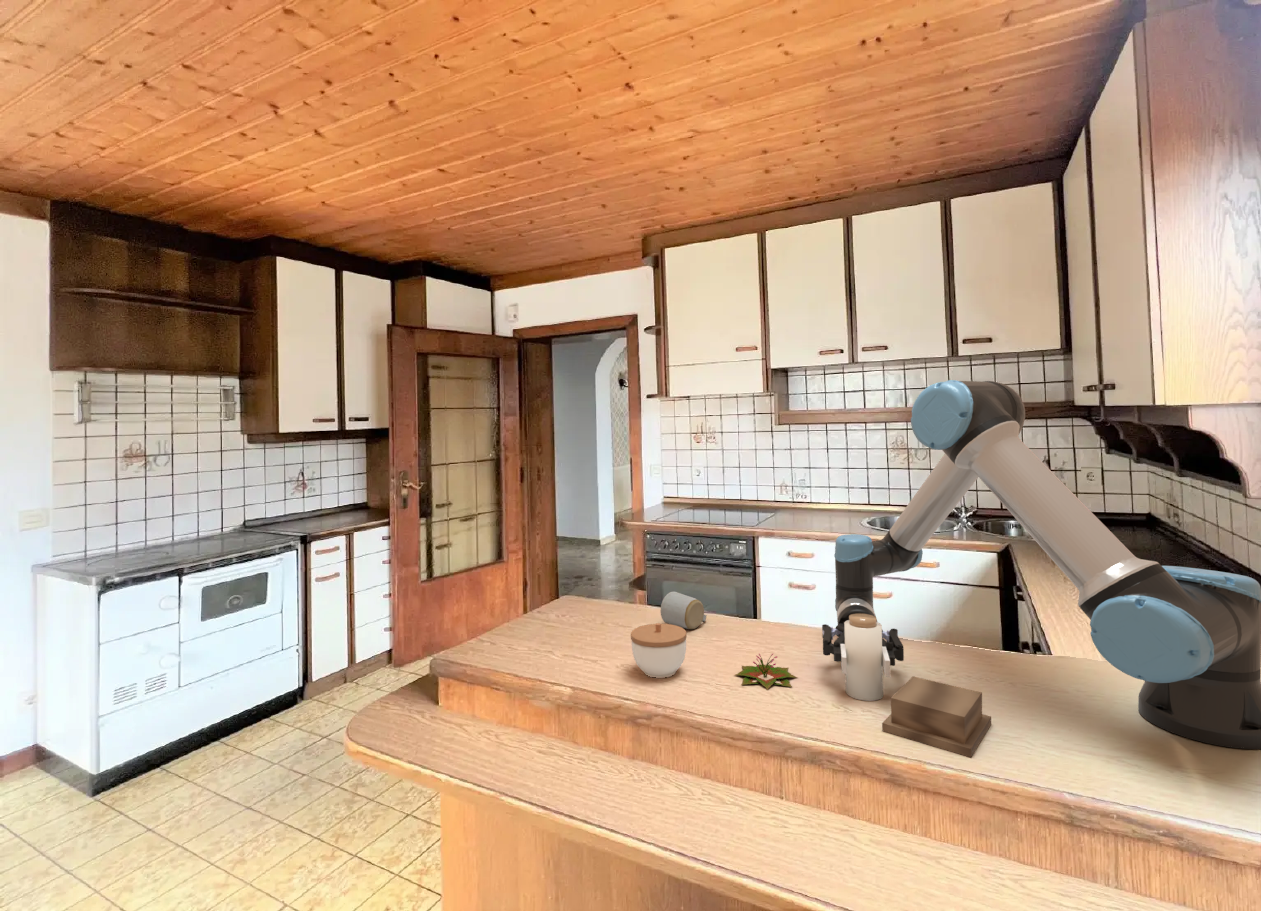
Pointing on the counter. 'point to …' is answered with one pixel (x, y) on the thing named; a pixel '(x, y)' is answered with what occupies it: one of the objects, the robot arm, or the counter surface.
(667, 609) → the ceramic mug
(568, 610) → the counter surface
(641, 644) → the lidded jar
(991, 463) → the robot arm
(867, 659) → the canister
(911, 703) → the pedestal
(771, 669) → the lily flower
